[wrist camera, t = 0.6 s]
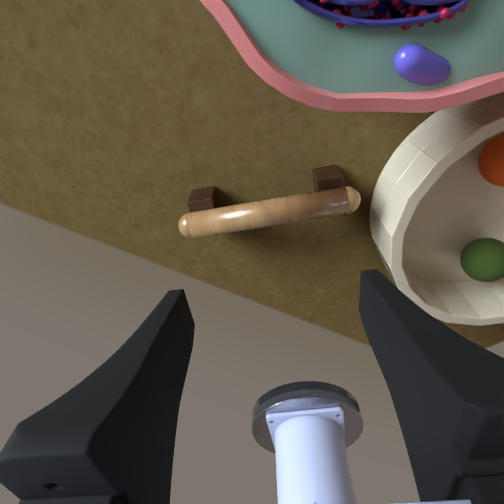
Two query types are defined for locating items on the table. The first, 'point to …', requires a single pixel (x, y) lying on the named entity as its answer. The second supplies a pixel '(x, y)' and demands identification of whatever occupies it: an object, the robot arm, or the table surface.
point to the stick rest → (321, 177)
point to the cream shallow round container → (442, 213)
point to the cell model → (371, 50)
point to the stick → (270, 212)
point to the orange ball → (493, 161)
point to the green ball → (483, 259)
